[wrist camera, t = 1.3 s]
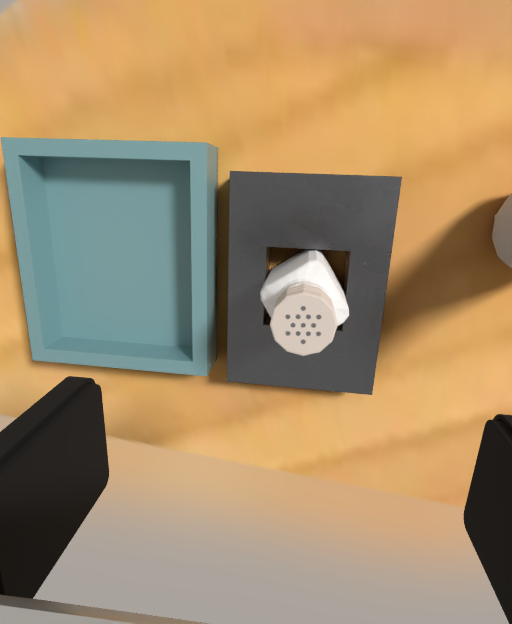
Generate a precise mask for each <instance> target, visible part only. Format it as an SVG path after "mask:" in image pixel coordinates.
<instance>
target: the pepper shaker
mask: <svg viewBox="0 0 512 624" xmlns="http://www.w3.org/2000/svg"><path fill="white" fill-rule="evenodd" d="M260 294H261V301H262V303H263V304H264V306H265V308H266V310H267V312H268V313H269V315H270V317H271V321H270V327H271V330H272V334H273V337H274V340H275V341H276V342H277V343H278V344H279V345H280V346H281V347H282V348H283V349H285V350H286V351H287V352H290V353H294V354H298V355H302V356H305V355H309V354H314V353H318V352H321V351H322V350H323V349H324V348H325V347H326V346H327V345H329V344H330V343H331V342H332V341H333V338H334V335H335V332H336V329H337V326H339V325H340V324H342V323H344V321H345V320H346V319H347V317H348V316H349V308H348V304H347V301H346V298H345V295H344V291H343V288H342V285H341V284H340V282H339V280H338V278H337V277H336V275H335V273H334V271H333V270H332V268H331V266H330V264H329V263H328V261H327V259H326V257H325V256H324V254H323V252H322V250H319V249H305V250H303V251H301V252H300V253H298V254H296V255H295V256H293V257H291V258H289V259H288V260H286V261H284V262H283V263H281V264H279V265H277V266H276V267H274V268H273V269H272V270H271V271H270V273H269V275H268V277H267V279H266V281H265V283H264V285H263V287H262V289H261V291H260Z"/></svg>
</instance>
